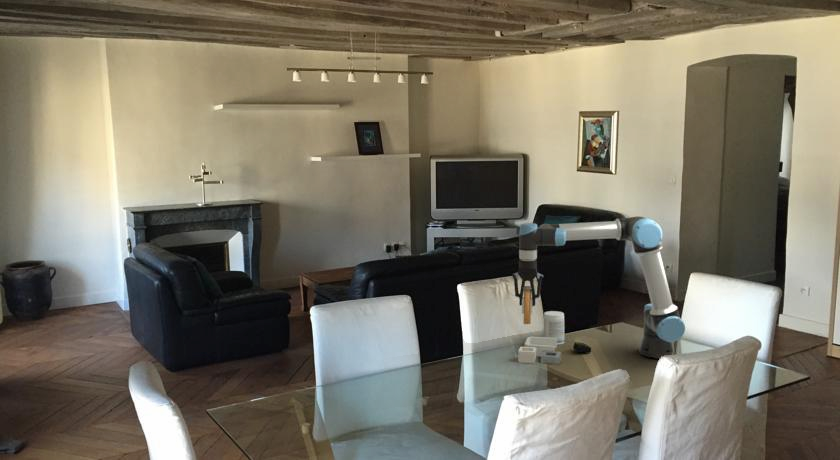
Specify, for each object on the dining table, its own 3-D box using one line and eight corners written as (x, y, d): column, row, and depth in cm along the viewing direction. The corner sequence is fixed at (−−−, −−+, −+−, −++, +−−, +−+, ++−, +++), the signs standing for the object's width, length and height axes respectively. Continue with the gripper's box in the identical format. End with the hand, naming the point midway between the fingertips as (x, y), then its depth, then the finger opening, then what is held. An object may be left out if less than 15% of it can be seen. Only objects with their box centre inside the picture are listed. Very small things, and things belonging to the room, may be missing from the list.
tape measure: (576, 353, 320) (578, 345, 320) (570, 348, 327) (571, 340, 327) (590, 355, 322) (592, 347, 322) (583, 350, 328) (585, 342, 328)
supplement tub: (568, 343, 339) (568, 313, 337) (556, 347, 333) (556, 316, 331) (551, 339, 346) (551, 309, 344) (539, 343, 340) (539, 313, 338)
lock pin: (532, 322, 313) (533, 286, 311) (531, 324, 309) (531, 288, 307) (523, 321, 314) (523, 285, 312) (521, 324, 310) (521, 287, 308)
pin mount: (560, 358, 316) (561, 352, 316) (559, 364, 308) (559, 357, 308) (542, 357, 318) (542, 350, 318) (540, 362, 310) (540, 356, 310)
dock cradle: (556, 348, 331) (556, 337, 331) (554, 357, 318) (554, 346, 317) (528, 346, 335) (528, 336, 334) (524, 355, 321) (524, 344, 320)
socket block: (536, 358, 316) (536, 347, 316) (534, 363, 310) (534, 352, 309) (520, 357, 318) (520, 346, 318) (518, 362, 311) (518, 351, 311)
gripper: (547, 258, 310) (546, 312, 313) (510, 257, 314) (510, 310, 317) (545, 261, 303) (545, 316, 306) (508, 260, 307) (507, 313, 310)
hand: (527, 312), depth 311 cm, fingers closed on lock pin, 3 cm apart
